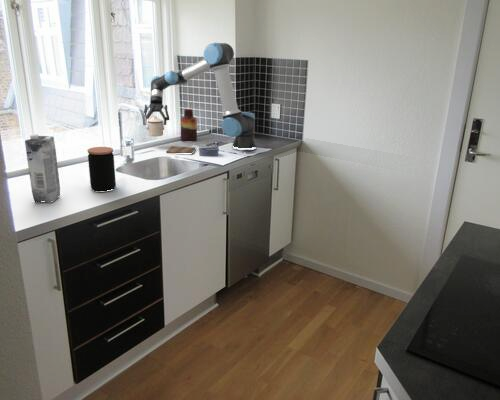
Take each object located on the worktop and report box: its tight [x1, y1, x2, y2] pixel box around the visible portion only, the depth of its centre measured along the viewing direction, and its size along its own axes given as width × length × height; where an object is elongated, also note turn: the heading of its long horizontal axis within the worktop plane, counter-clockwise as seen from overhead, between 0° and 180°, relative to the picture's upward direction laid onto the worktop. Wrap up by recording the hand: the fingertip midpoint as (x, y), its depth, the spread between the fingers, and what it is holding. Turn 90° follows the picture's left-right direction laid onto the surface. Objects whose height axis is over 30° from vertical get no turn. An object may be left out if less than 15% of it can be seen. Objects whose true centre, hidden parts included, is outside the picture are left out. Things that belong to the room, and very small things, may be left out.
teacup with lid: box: [147, 115, 164, 137], centre depth 266 cm, size 12×9×12 cm
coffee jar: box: [87, 146, 117, 192], centre depth 192 cm, size 11×11×18 cm
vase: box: [180, 108, 198, 142], centre depth 291 cm, size 11×11×20 cm
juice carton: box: [24, 133, 61, 203], centre depth 176 cm, size 9×10×27 cm
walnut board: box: [166, 145, 196, 154], centre depth 264 cm, size 15×14×1 cm
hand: (155, 128), depth 264 cm, fingers closed on teacup with lid, 9 cm apart
